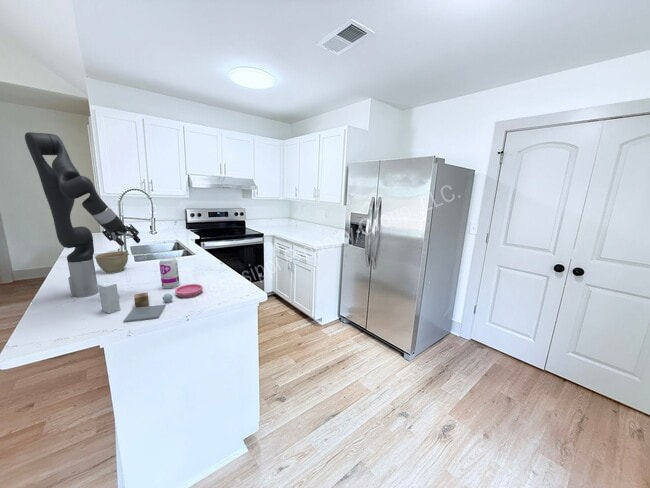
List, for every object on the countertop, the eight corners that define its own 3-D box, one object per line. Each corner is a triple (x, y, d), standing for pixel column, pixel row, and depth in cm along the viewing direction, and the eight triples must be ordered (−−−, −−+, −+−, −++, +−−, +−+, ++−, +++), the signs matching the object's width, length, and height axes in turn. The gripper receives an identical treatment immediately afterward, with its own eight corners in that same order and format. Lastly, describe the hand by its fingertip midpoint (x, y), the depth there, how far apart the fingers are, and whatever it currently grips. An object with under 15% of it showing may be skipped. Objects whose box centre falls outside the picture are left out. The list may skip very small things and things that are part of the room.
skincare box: (120, 309, 114) (116, 283, 111) (109, 313, 110) (105, 286, 108) (112, 306, 116) (108, 281, 114) (101, 310, 113) (97, 284, 110)
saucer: (200, 297, 129) (200, 291, 128) (172, 300, 125) (172, 293, 125) (204, 288, 140) (204, 282, 140) (178, 290, 137) (178, 284, 136)
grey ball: (162, 303, 120) (161, 295, 120) (164, 300, 124) (163, 292, 123) (171, 302, 122) (171, 294, 121) (173, 299, 125) (172, 291, 125)
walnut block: (135, 308, 115) (134, 298, 114) (135, 304, 119) (134, 294, 118) (149, 306, 118) (147, 295, 117) (149, 302, 122) (147, 292, 121)
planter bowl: (124, 265, 177) (122, 250, 174) (134, 270, 167) (131, 254, 165) (94, 271, 164) (91, 254, 162) (102, 276, 155) (99, 259, 152)
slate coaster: (123, 322, 103) (123, 320, 103) (134, 309, 114) (133, 307, 114) (158, 318, 107) (158, 316, 107) (165, 306, 118) (165, 304, 118)
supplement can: (171, 289, 138) (168, 262, 134) (158, 288, 139) (155, 260, 136) (182, 284, 145) (180, 258, 142) (170, 283, 147) (167, 257, 144)
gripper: (125, 210, 121) (147, 236, 133) (97, 215, 122) (121, 240, 133) (117, 220, 116) (141, 246, 127) (87, 226, 117) (113, 251, 128)
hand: (130, 243), depth 130 cm, fingers open, 8 cm apart
